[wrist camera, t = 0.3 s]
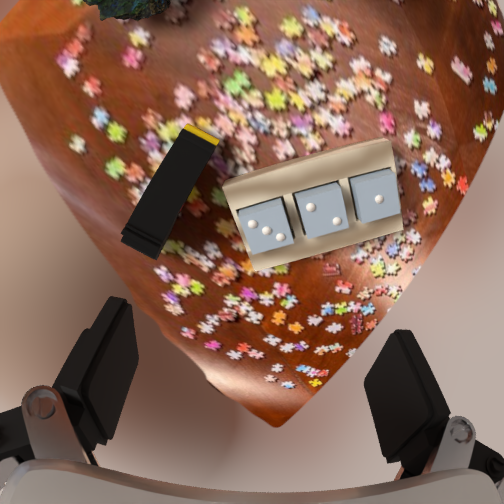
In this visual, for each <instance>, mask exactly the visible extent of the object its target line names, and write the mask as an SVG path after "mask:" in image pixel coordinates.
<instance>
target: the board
mask: <svg viewBox="0 0 504 504" xmlns="http://www.w3.org/2000/svg"><path fill="white" fill-rule="evenodd" d="M385 169H389V170H391V171H392V172H394V173H395V176H396V182H397V190H398V197H399V205H400V213H399V214H396V215H392V216H389V217H385V218H382V219H378V220H374V221H371V222H367V223H364V224H362V223H361V221H360V220H359V218H358V217H357V212H356V207H355V202H354V197H353V192H352V187H351V182H350V178H354V177H357V176H361V175H365V174H369V173H373V172H377V171H381V170H385ZM335 182H336V183H337V184H338V185H339V186H340V187H341V191H342V196H343V200H344V205H345V210H346V215H347V219H348V224H349V228H346V229H343V230H339V231H336V232H332V233H328V234H325V235H321V236H318V237H314V238H311V239H308V238H307V235H306V232H305V228H304V224H303V221H302V217H301V214H300V210H299V207H298V203H297V200H296V196H295V193H299V192H302V191H306V190H309V189H313V188H317V187H320V186H324V185H327V184H331V183H335ZM222 189H223V191H224V194H225V196H226V199H227V201H228V204H229V207H230V209H231V212H232V214H233V217H234V220H235V222H236V225H237V227H238V230H239V232H240V235H241V238H242V240H243V243H244V245H245V248H246V250H247V253H248V255H249V258H250V261H251V263H252V266H253V268H254V271H259V270H263V269H267V268H270V267H274V266H278V265H281V264H285V263H288V262H292V261H296V260H299V259H303V258H307V257H310V256H314V255H317V254H321V253H324V252H328V251H332V250H335V249H339V248H342V247H346V246H349V245H353V244H356V243H360V242H363V241H366V240H370V239H373V238H377V237H380V236H384V235H387V234H390V233H394V232H397V231H401V230H403V221H402V212H401V203H400V195H399V187H398V180H397V174H396V167H395V161H394V156H393V150H392V145H391V141H390V140H387V139H385V138H383V137H379V138H374V139H370V140H366V141H361V142H357V143H353V144H349V145H345V146H341V147H337V148H333V149H329V150H325V151H322V152H318V153H314V154H310V155H307V156H303V157H299V158H296V159H292V160H289V161H285V162H282V163H279V164H275V165H272V166H269V167H265V168H262V169H259V170H255V171H252V172H249V173H246V174H243V175H240V176H237V177H233V178H230V179H227V180H225V181H224V184H223V186H222ZM278 198H281V200H282V204H283V207H284V210H285V213H286V216H287V220H288V223H289V226H290V229H291V233H292V236H293V241H294V243H293V244H289V245H286V246H282V247H279V248H275V249H272V250H268V251H264V252H261V253H257V254H254V255H252V252H251V249H250V247H249V244H248V242H247V239H246V236H245V234H244V231H243V228H242V226H241V223H240V221H239V218H238V215H239V210H241V209H245V208H248V207H251V206H255V205H258V204H261V203H264V202H268V201H271V200H275V199H278Z"/></svg>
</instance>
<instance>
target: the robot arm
mask: <svg viewBox="0 0 504 504" xmlns="http://www.w3.org/2000/svg"><path fill="white" fill-rule="evenodd" d="M138 360H139V355H138V349H137V342H136V335H135V328H134V320H133V313H132V306H131V304H128V303H127V300H126V299H123V298H118V297H113V296H110V297H109V298H108V300H107V301H106V303H105V305H104V306H103V308H102V310H101V311H100V313H99V315H98V317H97V318H96V320H95V321H94V323H93V325H92V327H91V328H90V329H88V328H87V329H85V330H84V331H83V332H82V333H81V335H80V337H79V339H78V340H77V342H76V344H75V346H74V347H73V349H72V351H71V353H70V354H69V356H68V358H67V360H66V362H65V363H64V365H63V367H62V369H61V371H60V373H59V375H58V376H57V378H56V380H55V383H54V384H53V386H52V387H50V386H46V385H39V386H35V387H33V388H31V389H29V390H28V391H27V392H26V393H25V395H24V397H23V399H22V402H21V406H19V407H17V408H14V409H11V410H8V411H5V412H2V413H0V490H1V489H2V488H3V487H4V489H3V491H2V494H1V496H0V504H504V458H503V457H502V456H501V455H500V454H499V453H497V452H496V451H494V450H492V449H490V448H489V447H487V446H485V445H484V444H482V443H480V442H479V441H477V440H475V438H476V432H475V429H474V426H473V425H472V423H471V422H470V421H469V420H468V419H466V418H465V417H462V416H455V417H452V418H451V419H450V418H449V414H450V413H451V412H450V410H449V407H448V405H447V403H446V401H445V398H444V396H443V394H442V392H441V390H440V387H439V385H438V383H437V381H436V379H435V377H434V375H433V373H432V371H431V368H430V366H429V364H428V362H427V360H426V358H425V356H424V354H423V353H422V350H421V348H420V346H419V344H418V343H417V341H416V339H415V337H414V335H413V333H412V332H411V331H410V330H399V329H398V330H395V331H394V333H392V334H390V336H389V338H388V340H387V341H386V343H385V345H384V347H383V348H382V350H381V352H380V354H379V355H378V357H377V359H376V361H375V362H374V364H373V366H372V368H371V369H370V371H369V373H368V374H367V376H366V377H365V381H364V388H365V391H366V395H367V398H368V402H369V405H370V409H371V413H372V416H373V420H374V423H375V428H376V432H377V435H378V439H379V443H380V447H381V451H382V455H383V456H384V457H386V460H387V463H394V462H399V461H401V465H402V466H401V468H400V470H399V472H398V474H397V475H396V477H395V479H394V481H391V482H386V483H380V484H375V485H369V486H362V487H355V488H347V489H338V490H327V491H314V492H295V493H294V492H292V493H263V492H262V493H261V492H240V491H226V490H216V489H206V488H198V487H191V486H185V485H179V484H173V483H168V482H162V481H157V480H152V479H147V478H143V477H138V476H133V475H130V474H126V473H122V472H118V471H114V470H110V469H106V468H102V467H100V465H99V463H98V461H97V459H96V457H95V455H94V453H93V450H95V447H96V445H97V443H99V444H102V445H106V443H107V440H108V439H110V440H111V439H112V438H113V436H114V433H115V430H116V427H117V424H118V421H119V418H120V414H121V412H122V408H123V405H124V402H125V399H126V396H127V394H128V391H129V387H130V385H131V382H132V379H133V376H134V374H135V371H136V368H137V365H138ZM5 482H7V483H6V485H5V484H4V483H5Z"/></svg>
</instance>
